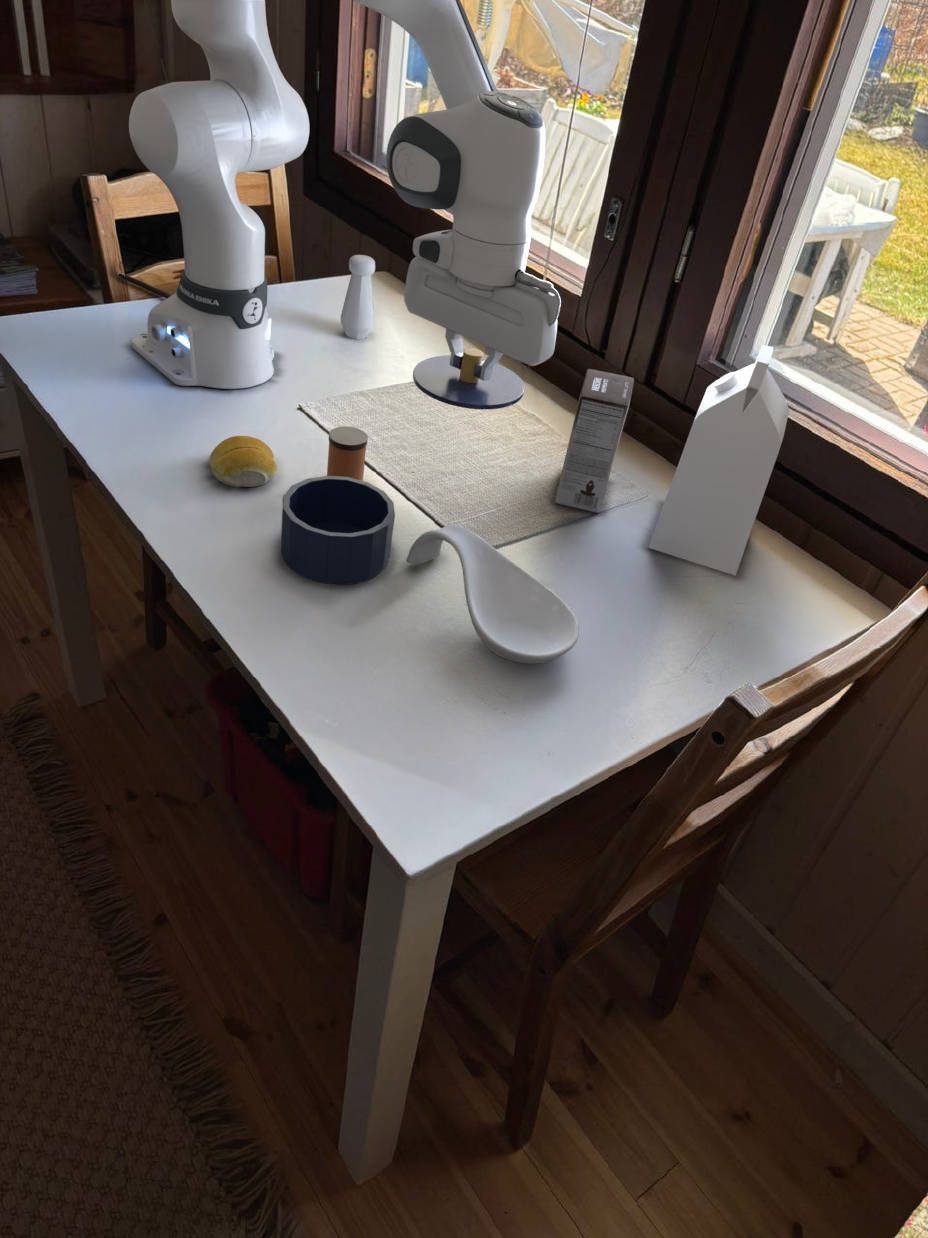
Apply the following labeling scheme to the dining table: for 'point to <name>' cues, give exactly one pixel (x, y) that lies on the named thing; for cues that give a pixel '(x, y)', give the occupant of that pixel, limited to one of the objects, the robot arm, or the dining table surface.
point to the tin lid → (467, 382)
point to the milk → (724, 469)
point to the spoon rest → (504, 599)
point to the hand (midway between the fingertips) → (470, 372)
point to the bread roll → (242, 462)
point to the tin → (336, 529)
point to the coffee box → (594, 439)
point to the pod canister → (347, 452)
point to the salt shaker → (359, 299)
